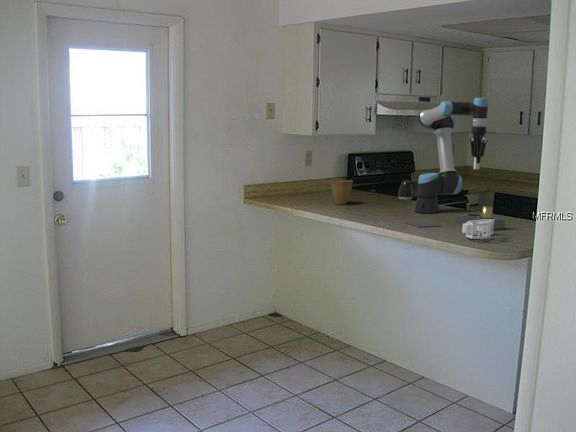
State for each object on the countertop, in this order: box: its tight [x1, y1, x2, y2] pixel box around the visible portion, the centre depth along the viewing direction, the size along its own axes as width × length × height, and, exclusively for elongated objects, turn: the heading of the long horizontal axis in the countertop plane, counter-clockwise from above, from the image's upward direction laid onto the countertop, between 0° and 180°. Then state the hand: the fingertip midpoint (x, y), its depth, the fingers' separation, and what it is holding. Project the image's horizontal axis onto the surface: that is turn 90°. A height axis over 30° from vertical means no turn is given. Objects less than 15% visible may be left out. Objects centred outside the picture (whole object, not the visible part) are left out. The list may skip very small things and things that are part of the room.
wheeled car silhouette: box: [461, 219, 494, 240], centre depth 294 cm, size 20×11×7 cm, turn 123°
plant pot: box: [330, 179, 354, 204], centre depth 397 cm, size 15×15×16 cm
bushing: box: [481, 205, 493, 219], centre depth 317 cm, size 5×5×11 cm
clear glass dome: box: [397, 179, 414, 201], centre depth 420 cm, size 10×10×15 cm
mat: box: [404, 220, 442, 228], centre depth 323 cm, size 14×14×1 cm
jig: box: [455, 212, 506, 231], centre depth 323 cm, size 24×13×5 cm, turn 20°
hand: (476, 169), depth 335 cm, fingers closed
